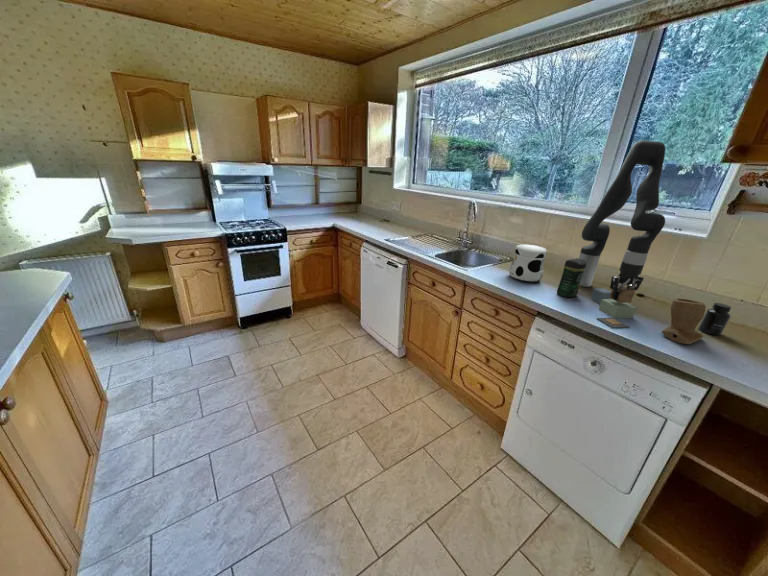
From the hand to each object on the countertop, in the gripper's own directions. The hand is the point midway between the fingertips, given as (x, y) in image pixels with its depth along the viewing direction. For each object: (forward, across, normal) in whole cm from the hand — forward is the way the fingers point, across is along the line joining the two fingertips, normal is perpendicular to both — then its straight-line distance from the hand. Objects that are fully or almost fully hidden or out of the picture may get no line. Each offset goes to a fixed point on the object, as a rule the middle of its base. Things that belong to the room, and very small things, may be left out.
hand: (620, 298), depth 139 cm
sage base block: (+7, 0, 0) cm, 7 cm away
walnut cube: (+1, 0, 0) cm, 1 cm away
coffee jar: (+7, +8, -21) cm, 24 cm away
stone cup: (+7, -8, +21) cm, 24 cm away
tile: (+7, +10, +9) cm, 15 cm away
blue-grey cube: (+7, -4, -13) cm, 15 cm away
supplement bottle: (+7, -26, +19) cm, 33 cm away
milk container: (+7, +17, -44) cm, 48 cm away
